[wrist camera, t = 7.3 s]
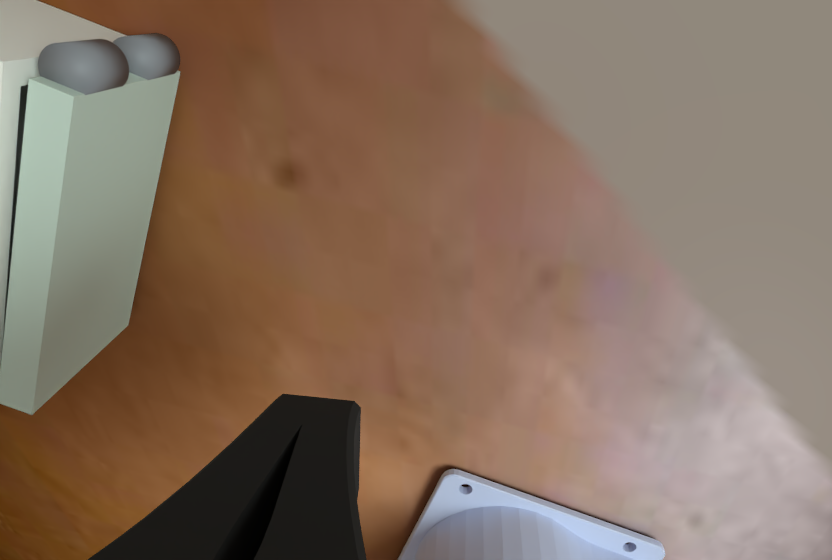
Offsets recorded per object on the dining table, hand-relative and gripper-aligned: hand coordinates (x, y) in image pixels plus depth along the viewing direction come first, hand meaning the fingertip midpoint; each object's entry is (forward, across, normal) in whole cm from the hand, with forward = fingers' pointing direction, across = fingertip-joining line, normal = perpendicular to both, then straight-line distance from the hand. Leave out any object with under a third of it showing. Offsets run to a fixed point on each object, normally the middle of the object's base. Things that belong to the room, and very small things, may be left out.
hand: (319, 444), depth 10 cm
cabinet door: (+10, +8, -1) cm, 13 cm away
